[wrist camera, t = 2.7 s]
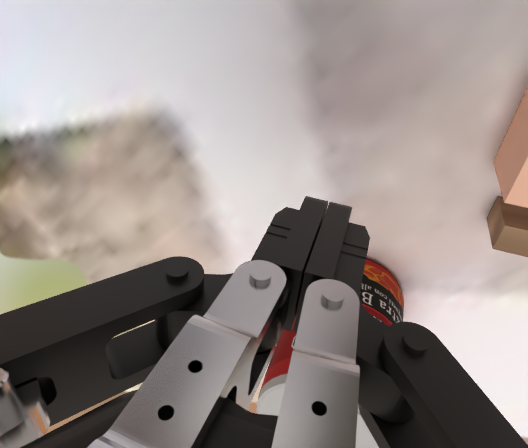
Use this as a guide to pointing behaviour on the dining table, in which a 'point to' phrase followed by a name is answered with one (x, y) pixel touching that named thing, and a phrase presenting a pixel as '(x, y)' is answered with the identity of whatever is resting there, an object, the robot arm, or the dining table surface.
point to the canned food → (270, 397)
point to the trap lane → (508, 227)
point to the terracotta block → (515, 158)
